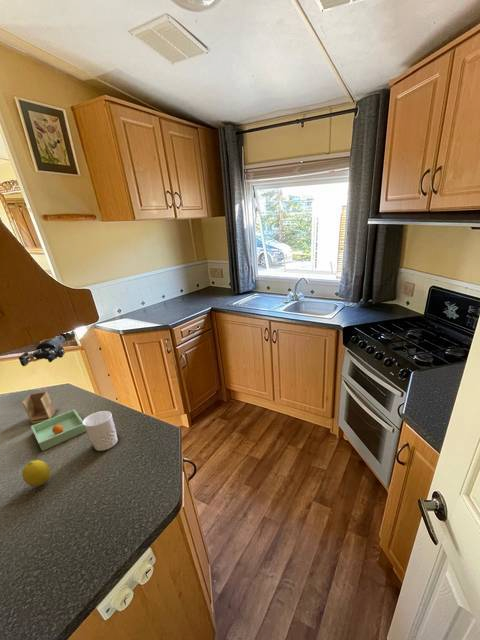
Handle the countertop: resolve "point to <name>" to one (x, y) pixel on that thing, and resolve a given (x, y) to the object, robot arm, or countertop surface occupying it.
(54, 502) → the countertop surface
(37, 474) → the lemon
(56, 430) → the ball
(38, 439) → the tray
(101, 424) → the white cup
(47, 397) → the open wooden box
